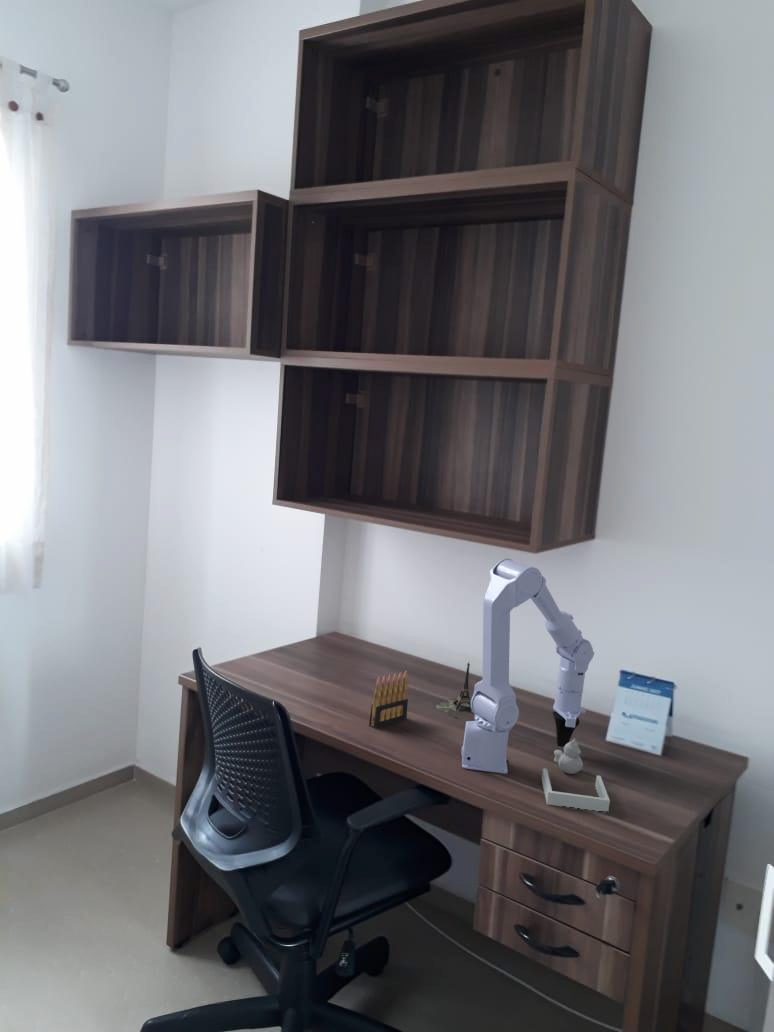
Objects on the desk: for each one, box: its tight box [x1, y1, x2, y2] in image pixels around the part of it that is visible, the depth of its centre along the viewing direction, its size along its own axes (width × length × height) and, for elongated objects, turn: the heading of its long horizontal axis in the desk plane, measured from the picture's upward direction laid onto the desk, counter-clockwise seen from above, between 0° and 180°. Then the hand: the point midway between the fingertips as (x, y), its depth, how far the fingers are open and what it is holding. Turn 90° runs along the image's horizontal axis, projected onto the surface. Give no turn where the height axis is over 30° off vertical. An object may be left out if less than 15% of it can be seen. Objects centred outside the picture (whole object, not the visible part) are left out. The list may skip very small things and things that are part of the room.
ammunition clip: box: [368, 670, 409, 729], centre depth 191 cm, size 11×2×12 cm, turn 134°
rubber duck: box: [553, 737, 584, 775], centre depth 174 cm, size 5×7×8 cm
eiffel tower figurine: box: [435, 662, 474, 720], centre depth 205 cm, size 15×10×13 cm
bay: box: [541, 767, 611, 812], centre depth 163 cm, size 12×11×2 cm
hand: (562, 745), depth 184 cm, fingers closed
